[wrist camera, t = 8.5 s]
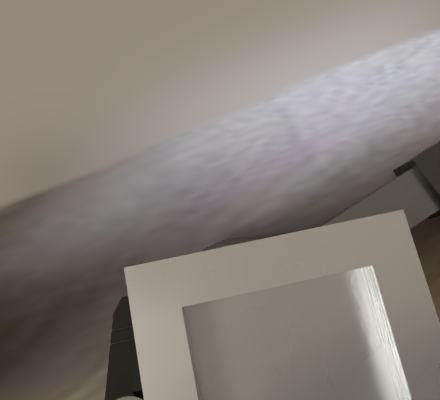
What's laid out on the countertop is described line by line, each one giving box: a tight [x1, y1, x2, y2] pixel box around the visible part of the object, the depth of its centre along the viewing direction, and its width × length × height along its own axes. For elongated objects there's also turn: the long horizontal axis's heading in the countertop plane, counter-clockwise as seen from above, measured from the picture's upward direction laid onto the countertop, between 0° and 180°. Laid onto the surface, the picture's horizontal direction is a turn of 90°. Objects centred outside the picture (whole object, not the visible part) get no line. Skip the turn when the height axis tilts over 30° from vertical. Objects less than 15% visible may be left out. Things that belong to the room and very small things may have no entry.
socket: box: [124, 210, 440, 400], centre depth 10 cm, size 5×5×10 cm
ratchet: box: [203, 141, 440, 251], centre depth 19 cm, size 24×7×6 cm, turn 122°
